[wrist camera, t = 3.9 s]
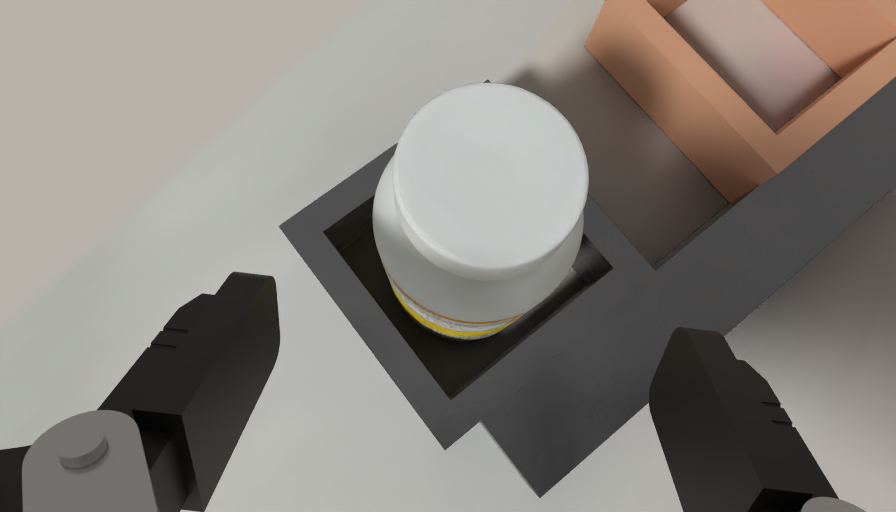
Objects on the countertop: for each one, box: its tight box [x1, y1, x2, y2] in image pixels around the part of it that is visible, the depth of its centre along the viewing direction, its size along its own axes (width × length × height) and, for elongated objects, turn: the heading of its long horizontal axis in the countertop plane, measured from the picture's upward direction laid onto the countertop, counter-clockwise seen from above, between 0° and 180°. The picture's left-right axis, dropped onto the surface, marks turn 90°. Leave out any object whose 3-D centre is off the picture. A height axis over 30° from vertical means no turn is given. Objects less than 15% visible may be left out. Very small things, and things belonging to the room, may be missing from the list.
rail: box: [279, 77, 896, 498], centre depth 19 cm, size 21×12×3 cm, turn 128°
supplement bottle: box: [372, 83, 589, 341], centre depth 15 cm, size 5×5×10 cm
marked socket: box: [585, 0, 896, 203], centre depth 21 cm, size 9×9×3 cm
